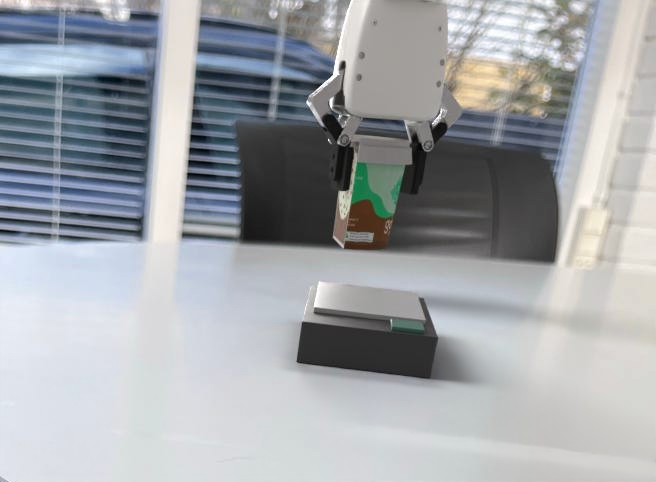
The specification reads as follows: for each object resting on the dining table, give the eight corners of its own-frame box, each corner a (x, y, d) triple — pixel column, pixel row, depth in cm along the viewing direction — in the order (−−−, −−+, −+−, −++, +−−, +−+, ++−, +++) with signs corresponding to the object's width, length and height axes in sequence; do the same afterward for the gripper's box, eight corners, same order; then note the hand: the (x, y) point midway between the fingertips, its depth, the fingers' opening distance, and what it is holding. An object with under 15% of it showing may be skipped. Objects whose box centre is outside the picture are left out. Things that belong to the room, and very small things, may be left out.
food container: (408, 256, 103) (426, 143, 99) (345, 250, 103) (361, 137, 99) (388, 240, 114) (404, 138, 110) (331, 235, 114) (345, 133, 109)
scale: (417, 332, 94) (424, 293, 93) (430, 378, 79) (439, 331, 77) (306, 319, 95) (311, 280, 94) (296, 362, 80) (302, 315, 78)
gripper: (467, -5, 103) (434, 192, 112) (301, -23, 99) (280, 184, 107) (506, -10, 97) (469, 199, 105) (331, -29, 93) (306, 191, 101)
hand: (374, 190), depth 106 cm, fingers closed on food container, 6 cm apart
